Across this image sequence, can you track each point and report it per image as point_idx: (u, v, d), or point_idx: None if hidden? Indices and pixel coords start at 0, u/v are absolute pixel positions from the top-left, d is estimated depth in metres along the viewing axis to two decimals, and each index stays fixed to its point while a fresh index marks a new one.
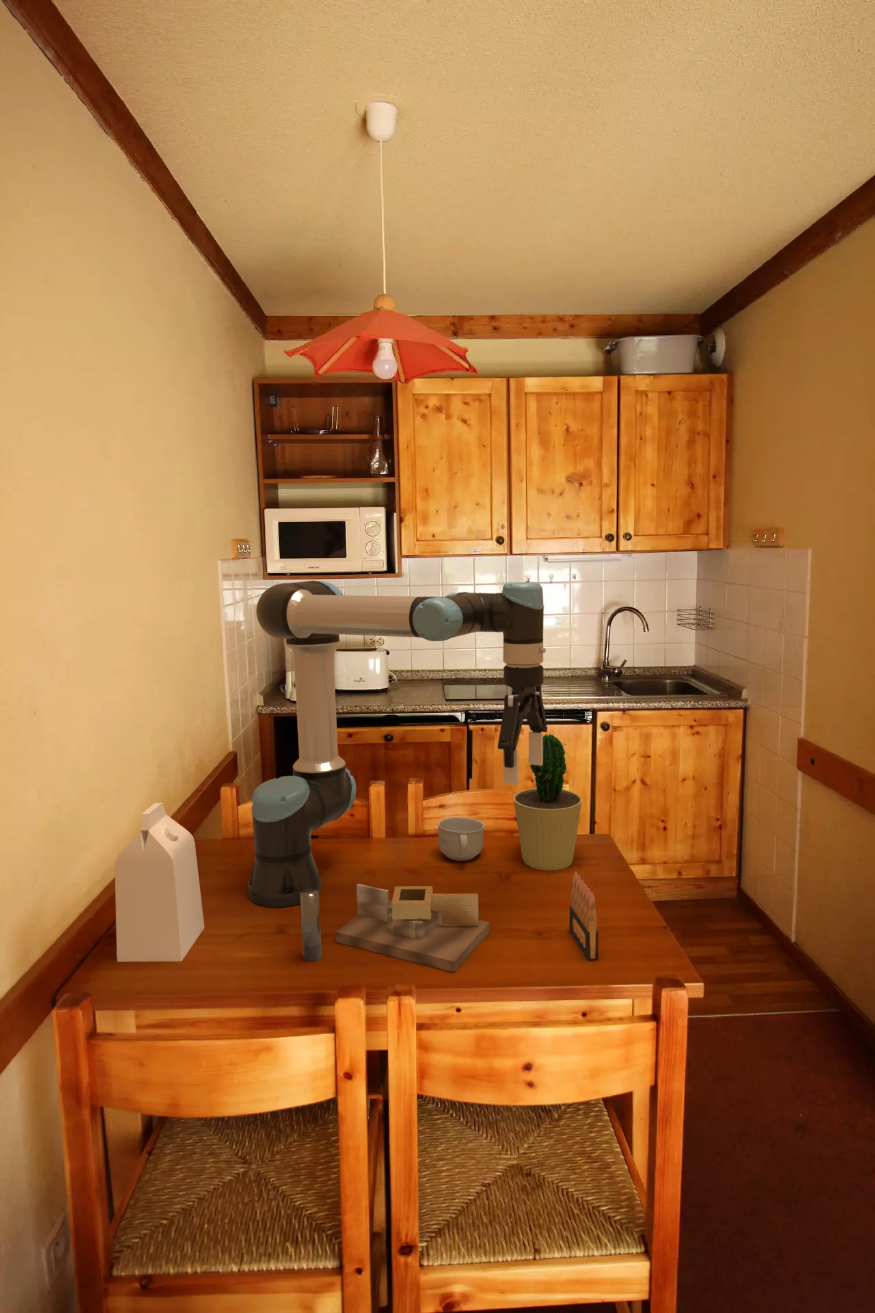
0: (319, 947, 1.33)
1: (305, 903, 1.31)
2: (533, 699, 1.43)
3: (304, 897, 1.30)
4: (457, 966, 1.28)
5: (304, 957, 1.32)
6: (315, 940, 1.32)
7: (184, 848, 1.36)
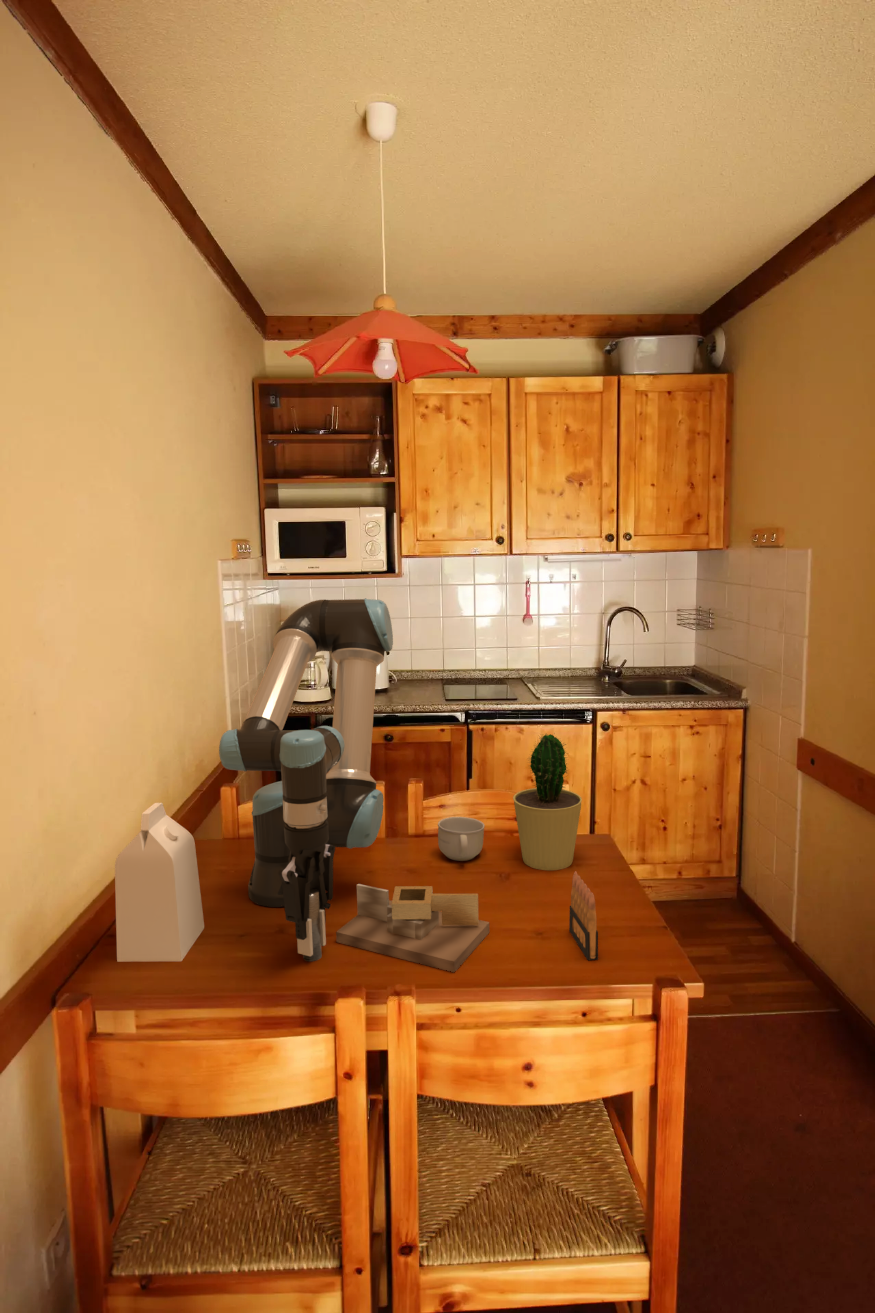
0: (319, 947, 1.33)
1: None
2: (318, 857, 1.31)
3: None
4: (457, 966, 1.28)
5: (304, 957, 1.32)
6: (315, 940, 1.32)
7: (184, 848, 1.36)
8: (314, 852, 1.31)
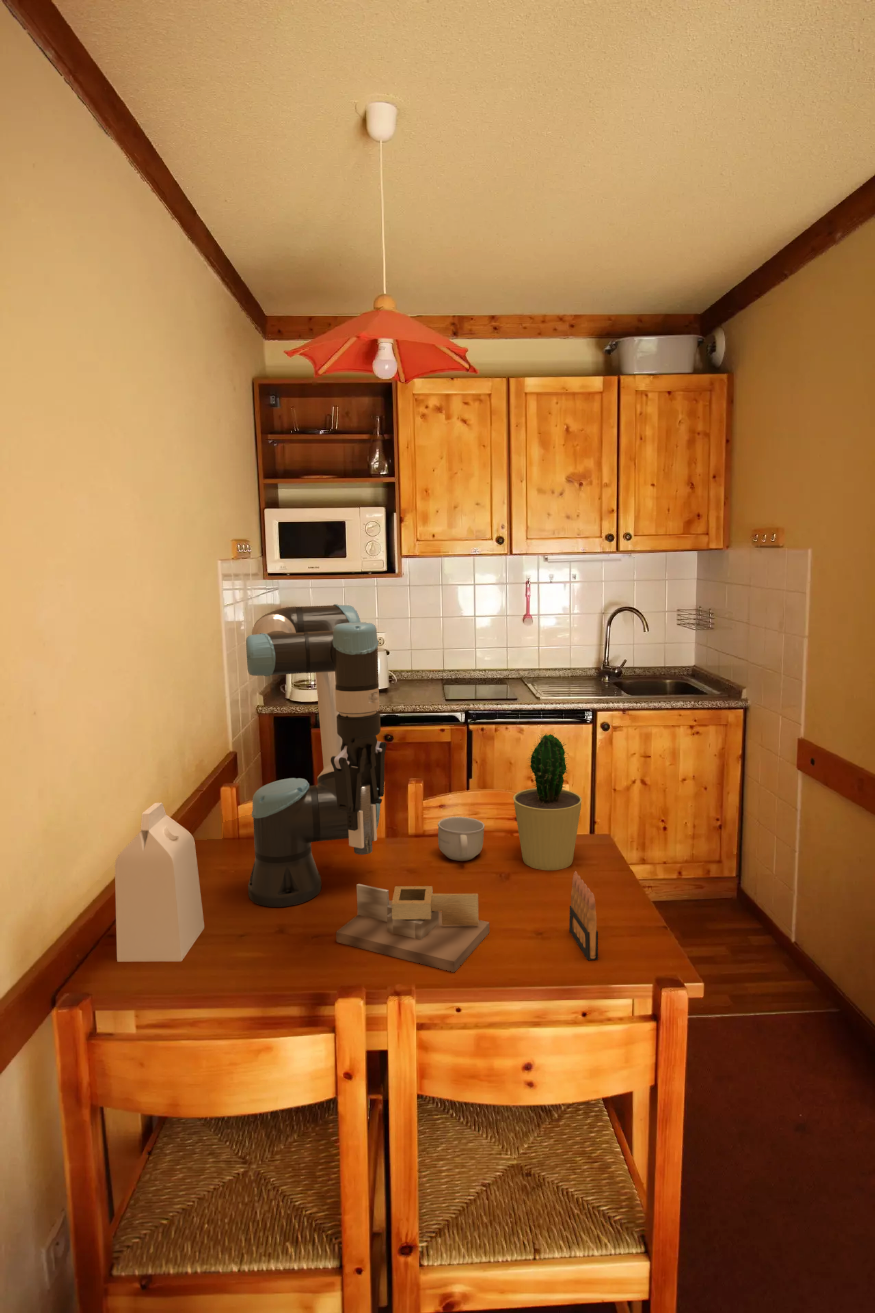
0: (370, 841, 1.33)
1: None
2: (369, 749, 1.31)
3: None
4: (457, 966, 1.28)
5: (355, 850, 1.33)
6: (366, 833, 1.32)
7: (184, 848, 1.36)
8: (366, 744, 1.31)
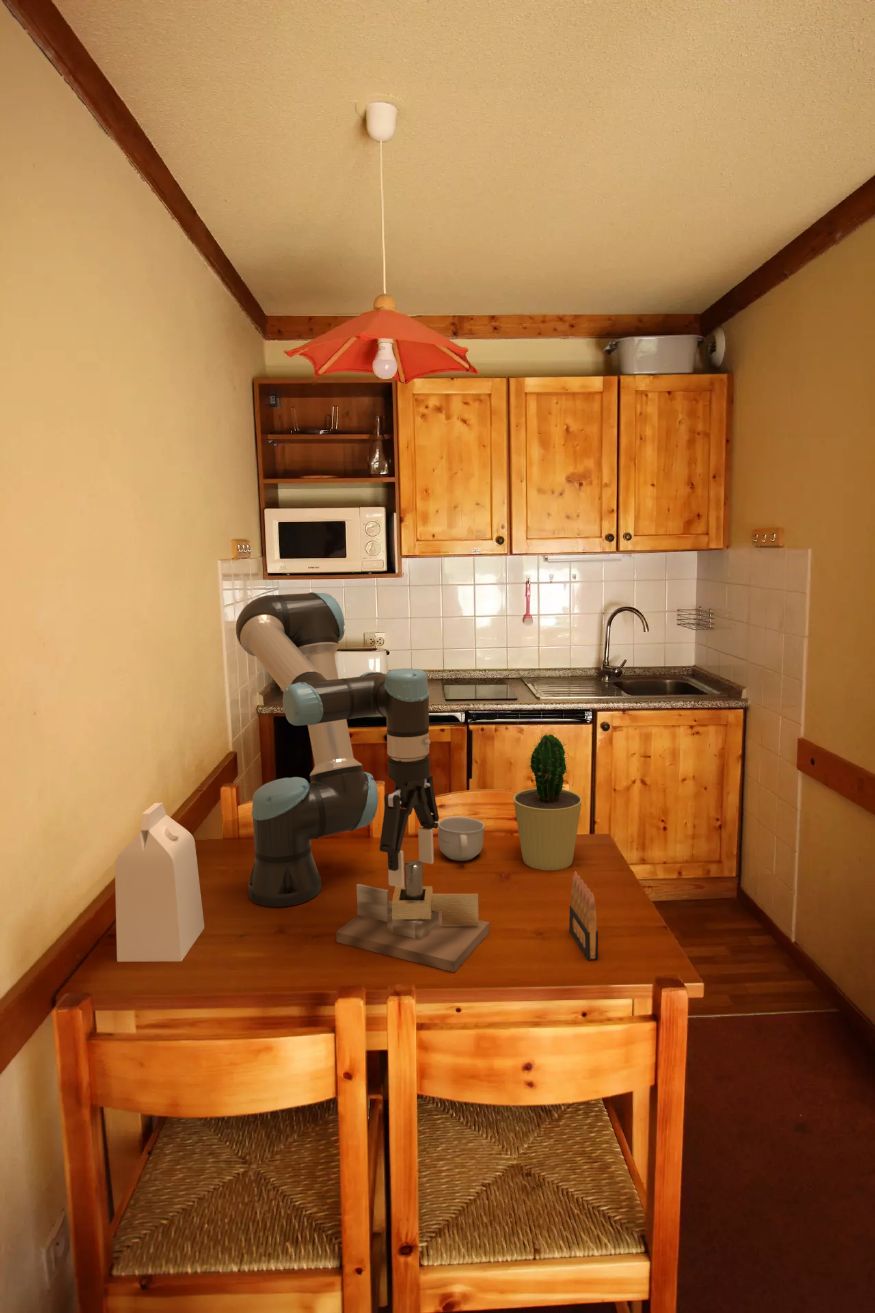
0: None
1: (410, 874, 1.37)
2: (420, 791, 1.36)
3: (410, 868, 1.37)
4: (457, 966, 1.28)
5: None
6: None
7: (184, 848, 1.36)
8: (416, 786, 1.35)
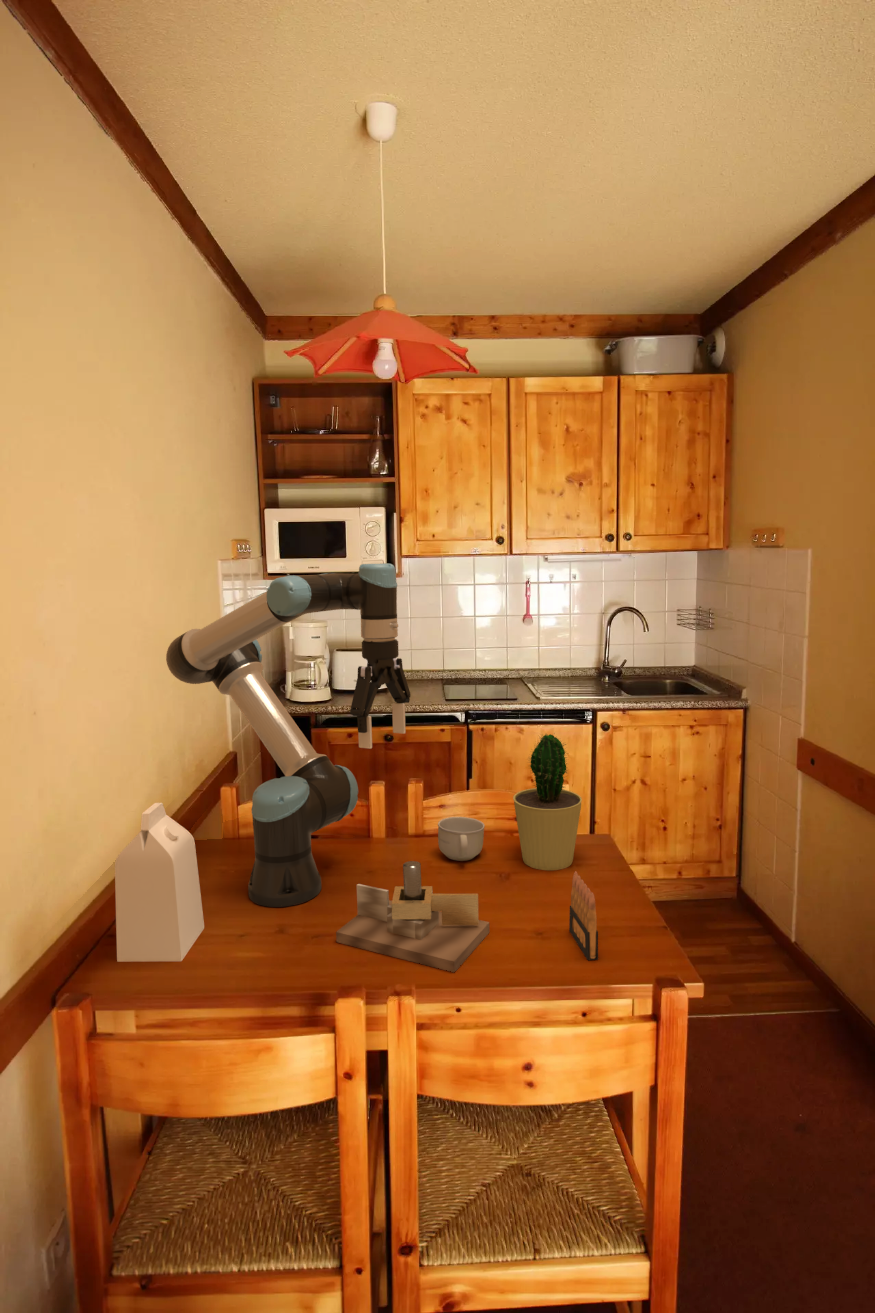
0: None
1: (408, 875, 1.36)
2: (389, 671, 1.56)
3: (408, 869, 1.36)
4: (457, 966, 1.28)
5: None
6: None
7: (184, 848, 1.36)
8: (386, 666, 1.56)
